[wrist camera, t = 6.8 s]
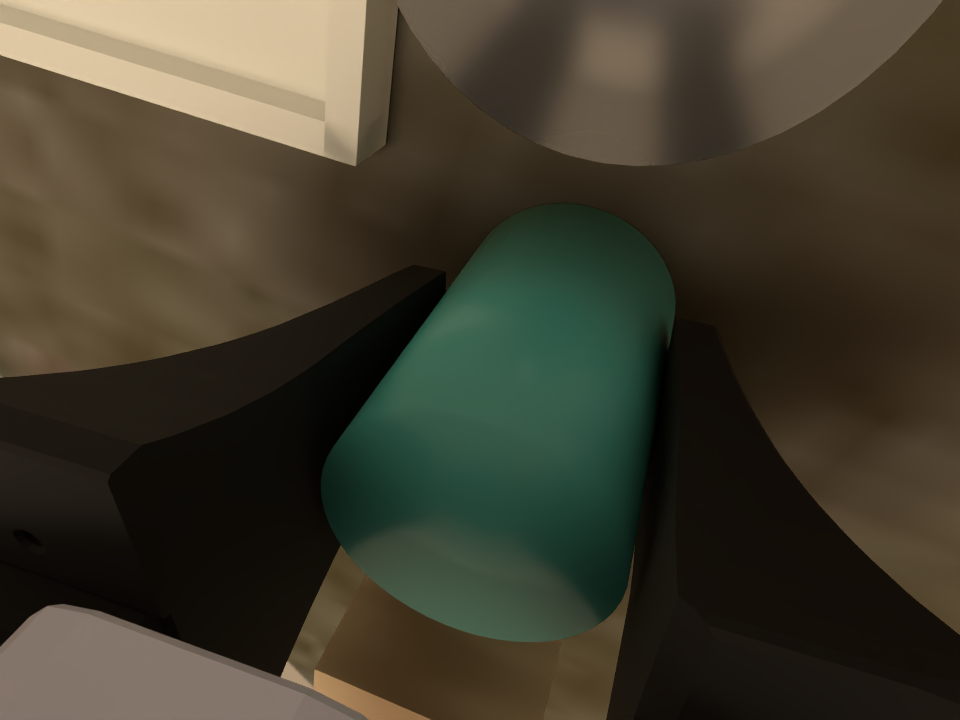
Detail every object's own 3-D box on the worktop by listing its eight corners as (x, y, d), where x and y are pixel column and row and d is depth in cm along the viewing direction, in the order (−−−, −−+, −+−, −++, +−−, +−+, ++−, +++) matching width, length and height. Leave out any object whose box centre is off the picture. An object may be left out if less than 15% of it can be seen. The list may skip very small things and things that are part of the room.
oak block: (595, 503, 16) (531, 763, 11) (553, 597, 18) (487, 841, 14) (437, 444, 16) (314, 669, 12) (417, 543, 19) (310, 761, 14)
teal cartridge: (709, 242, 12) (681, 492, 7) (635, 412, 14) (577, 679, 9) (489, 175, 12) (325, 364, 7) (455, 349, 15) (317, 572, 10)
